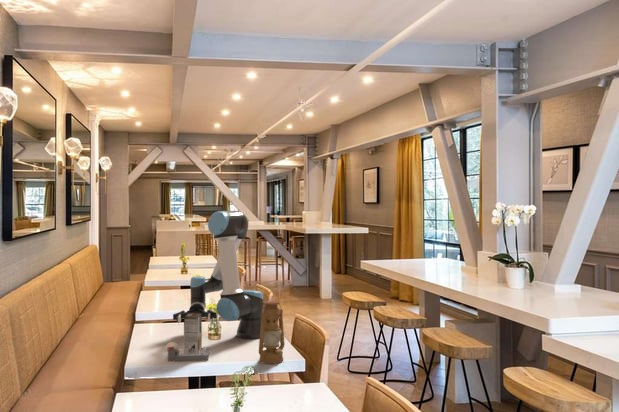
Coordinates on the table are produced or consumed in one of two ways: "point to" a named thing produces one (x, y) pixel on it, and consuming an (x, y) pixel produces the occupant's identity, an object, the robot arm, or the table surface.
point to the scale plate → (202, 352)
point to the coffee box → (192, 333)
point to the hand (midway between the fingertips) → (193, 319)
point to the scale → (174, 356)
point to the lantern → (271, 333)
